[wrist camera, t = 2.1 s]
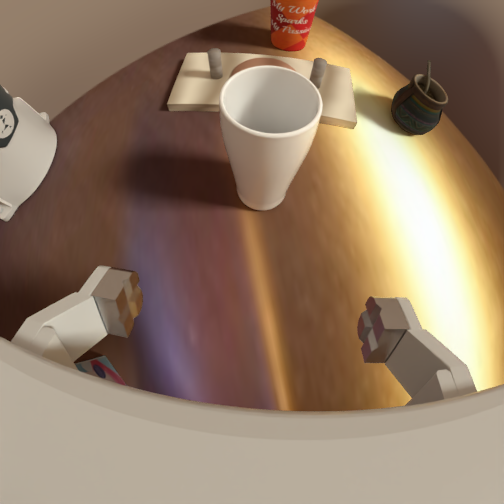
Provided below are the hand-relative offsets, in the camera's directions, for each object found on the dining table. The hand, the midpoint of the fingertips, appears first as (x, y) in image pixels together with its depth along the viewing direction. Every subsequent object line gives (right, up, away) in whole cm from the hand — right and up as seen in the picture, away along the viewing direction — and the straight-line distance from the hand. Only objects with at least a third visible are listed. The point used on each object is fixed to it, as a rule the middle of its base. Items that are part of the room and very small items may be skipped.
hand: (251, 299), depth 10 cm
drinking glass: (+1, +8, +21) cm, 23 cm away
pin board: (+2, +24, +24) cm, 34 cm away
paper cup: (+6, +35, +27) cm, 45 cm away
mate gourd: (+23, +21, +24) cm, 39 cm away
